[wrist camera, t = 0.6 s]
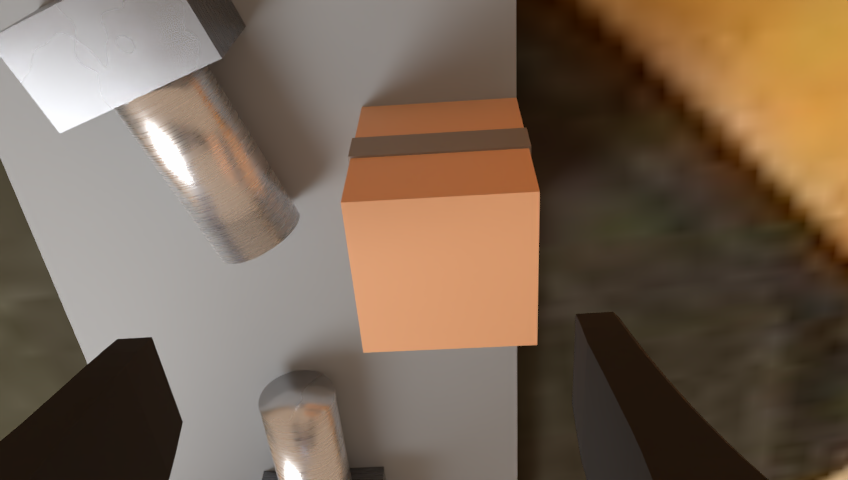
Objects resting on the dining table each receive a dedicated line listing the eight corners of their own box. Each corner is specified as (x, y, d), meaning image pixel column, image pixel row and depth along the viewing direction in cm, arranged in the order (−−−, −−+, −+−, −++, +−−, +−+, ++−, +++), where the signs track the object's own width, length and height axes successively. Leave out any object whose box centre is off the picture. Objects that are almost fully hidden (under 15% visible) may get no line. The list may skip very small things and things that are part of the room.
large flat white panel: (515, 496, 29) (517, 518, 28) (166, 508, 29) (158, 530, 29) (511, -123, 17) (515, -118, 16) (-72, -79, 18) (-97, -71, 17)
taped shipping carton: (518, 230, 21) (539, 346, 17) (376, 238, 21) (361, 354, 17) (518, 95, 19) (542, 189, 15) (359, 105, 19) (337, 200, 15)
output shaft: (341, 168, 21) (326, 230, 18) (212, 220, 22) (178, 287, 19) (202, -78, 18) (157, -48, 15) (56, -2, 19) (-14, 39, 16)
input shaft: (391, 487, 29) (386, 567, 26) (280, 491, 29) (263, 570, 26) (371, 347, 25) (363, 422, 22) (243, 353, 25) (218, 428, 22)
